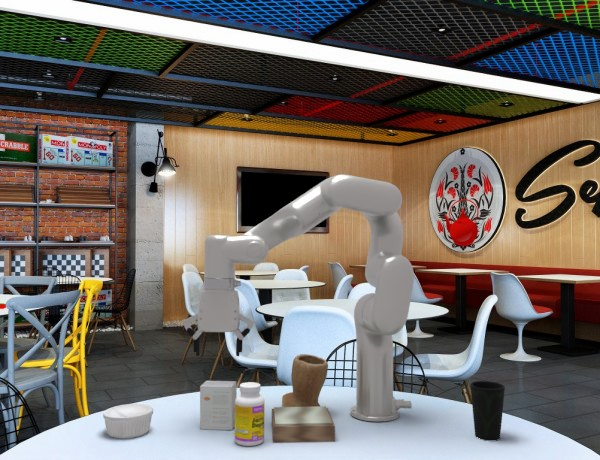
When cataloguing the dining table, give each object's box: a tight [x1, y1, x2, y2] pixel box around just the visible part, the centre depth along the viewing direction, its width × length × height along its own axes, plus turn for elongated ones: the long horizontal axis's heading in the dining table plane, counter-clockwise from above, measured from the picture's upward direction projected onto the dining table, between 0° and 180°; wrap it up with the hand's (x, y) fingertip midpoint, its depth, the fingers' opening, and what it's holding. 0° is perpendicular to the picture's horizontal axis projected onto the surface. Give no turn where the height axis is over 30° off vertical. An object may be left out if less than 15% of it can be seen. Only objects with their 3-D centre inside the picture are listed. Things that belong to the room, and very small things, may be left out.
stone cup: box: [281, 353, 329, 407], centre depth 153 cm, size 15×12×15 cm
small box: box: [199, 380, 238, 431], centre depth 140 cm, size 8×6×10 cm
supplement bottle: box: [234, 381, 265, 447], centre depth 130 cm, size 7×7×13 cm
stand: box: [271, 405, 336, 443], centre depth 137 cm, size 14×14×4 cm
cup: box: [469, 380, 506, 441], centre depth 134 cm, size 8×8×12 cm
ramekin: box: [102, 403, 154, 440], centre depth 136 cm, size 11×11×5 cm
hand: (218, 355), depth 140 cm, fingers open, 9 cm apart
